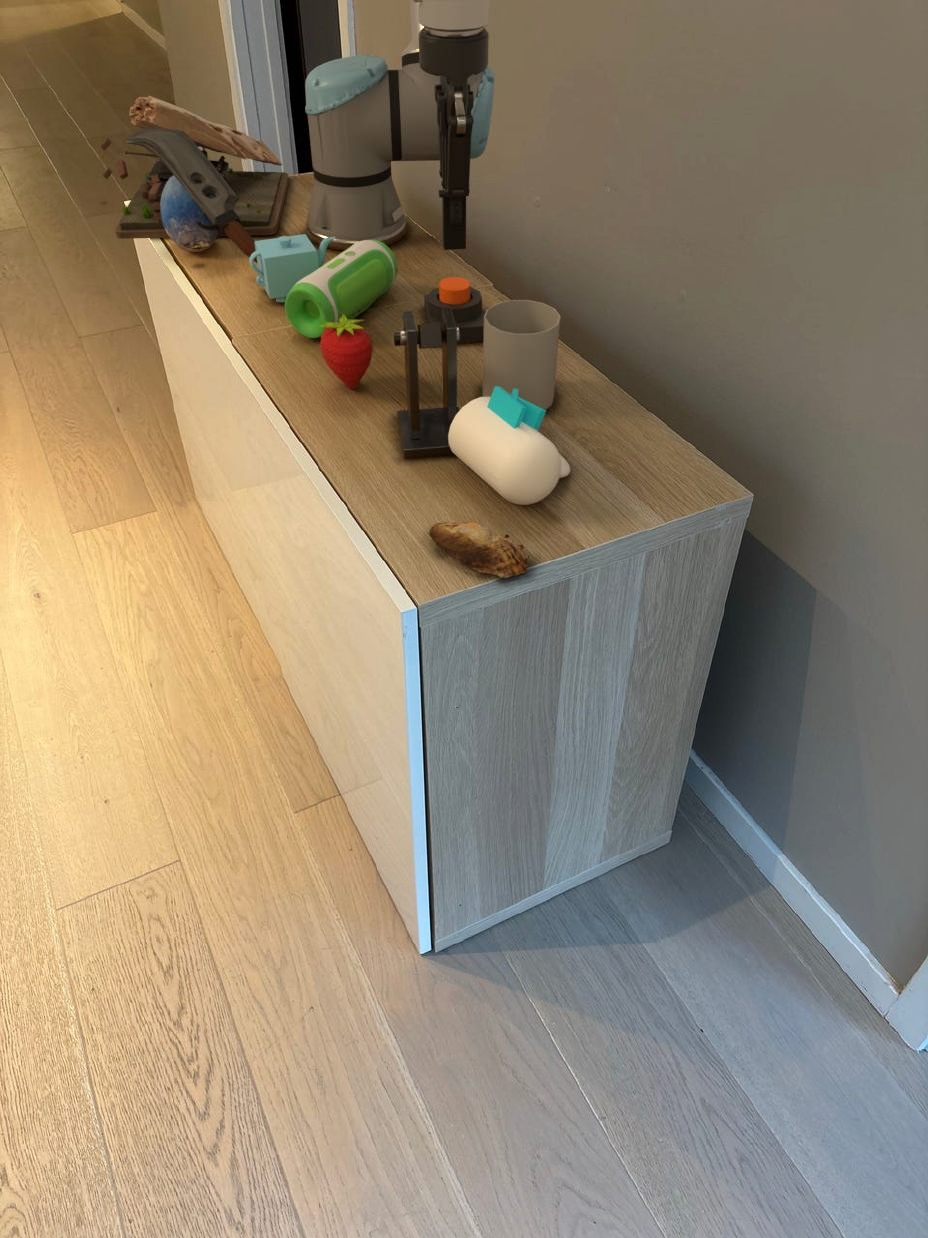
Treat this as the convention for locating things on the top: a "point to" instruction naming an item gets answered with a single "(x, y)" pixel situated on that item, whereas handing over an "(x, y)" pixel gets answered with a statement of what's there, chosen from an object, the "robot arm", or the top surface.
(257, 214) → the tank diorama
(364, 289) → the speaker
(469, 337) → the control block
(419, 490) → the top surface
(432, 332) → the lever
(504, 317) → the cup
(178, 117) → the broken wood plank
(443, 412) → the bracket
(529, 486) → the white handled jug
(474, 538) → the oyster shell
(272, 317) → the top surface
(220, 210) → the knife
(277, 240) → the teapot
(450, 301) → the button
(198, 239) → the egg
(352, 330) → the strawberry
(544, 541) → the top surface
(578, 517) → the top surface
